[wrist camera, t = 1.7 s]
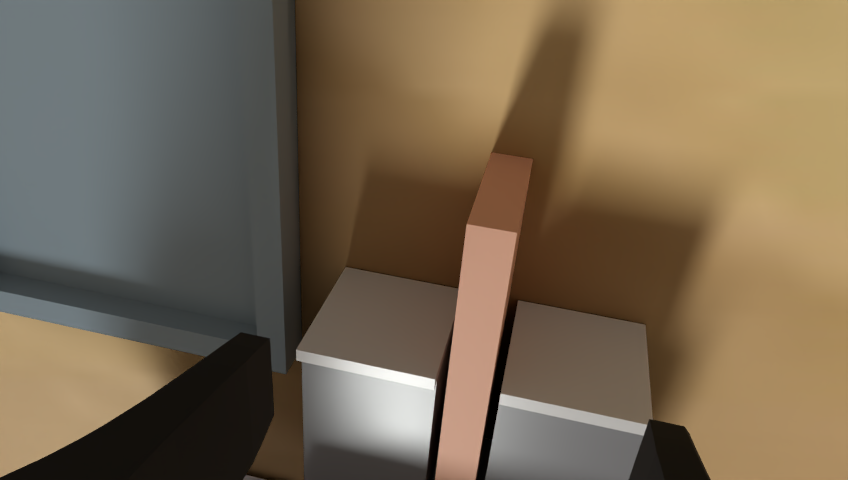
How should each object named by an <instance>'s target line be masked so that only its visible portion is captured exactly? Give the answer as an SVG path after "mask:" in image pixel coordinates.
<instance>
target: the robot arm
mask: <svg viewBox="0 0 848 480" xmlns="http://www.w3.org/2000/svg"><path fill="white" fill-rule="evenodd" d="M273 416H274V403H273V384H272V364H271V345H270V338H266V337H262V336H257V335H252V334H247V333H243V332H241V333H239V334H238V335H236V336H235V337H233V338H232V339H230V340H229V341H227V342H226V343H225V344H223V345H222V346H220V347H219V348H218V349H216V350H215V351H213V352H212V353H211V354H209V355H208V356H206V357H205V358H204V359H202V360H201V361H200V362H198V363H197V364H195V365H194V366H193V367H191V368H190V369H188V370H187V371H186V372H184V373H183V374H181V375H180V376H178V377H177V378H176V379H174V380H173V381H171V382H170V383H168V384H167V385H165V386H164V387H162V388H161V389H160V390H158V391H157V392H155V393H154V394H152V395H151V396H149V397H148V398H146V399H145V400H143V401H142V402H140V403H139V404H137V405H135V406H134V407H132V408H131V409H129V410H127V411H126V412H124V413H123V414H121V415H119V416H118V417H116V418H115V419H113V420H111V421H110V422H108V423H107V424H105V425H103V426H102V427H100V428H98V429H96V430H95V431H93V432H91V433H89V434H88V435H86V436H84V437H82V438H81V439H79V440H77V441H75V442H73V443H71V444H69V445H67V446H65V447H63V448H62V449H60V450H58V451H56V452H54V453H52V454H50V455H48V456H46V457H44V458H42V459H40V460H38V461H36V462H33V463H31V464H29V465H27V466H25V467H22V468H20V469H18V470H16V471H14V472H11V473H9V474H7V475H5V476H3V477H0V480H265V479H261V478H257V477H253V476H249V475H246V474H247V472H248V471H249V469H250V467H251V465H252V464H253V462H254V460H255V457H256V455H257V453H258V451H259V449H260V446H261V444H262V442H263V440H264V437H265V435H266V433H267V430H268V428H269V426H270V423H271V421H272V418H273ZM629 480H710V478H709V476H708V473H707V471H706V469H705V467H704V465H703V463H702V461H701V459H700V456H699V454H698V452H697V450H696V448H695V445H694V443H693V441H692V439H691V436H690V434H689V432H688V431H687V429H686V428H685V427H684V426H679V425H675V424H670V423H665V422H660V421H656V420H651V419H649V421H648V424H647V427H646V430H645V433H644V436H643V439H642V442H641V445H640V448H639V451H638V454H637V456H636V459H635V462H634V465H633V468H632V471H631V474H630V477H629Z"/></svg>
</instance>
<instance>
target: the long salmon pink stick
mask: <svg viewBox="0 0 848 480" xmlns="http://www.w3.org/2000/svg"><path fill="white" fill-rule="evenodd" d="M532 162H533V159H530V158H524V157H518V156H512V155H506V154H499V153H493V152H491V155H490V158H489V161H488V164H487V167H486V170H485V173H484V176H483V178H482V181H481V184H480V187H479V190H478V193H477V196H476V199H475V201H474V204H473V207H472V210H471V213H470V216H469V219H468V222H467V225H466V233H465V241H464V249H463V257H462V265H461V273H460V282H459V290H458V298H457V306H456V314H455V322H454V330H453V338H452V346H451V354H450V362H449V370H448V378H447V386H446V394H445V402H444V410H443V418H442V426H441V434H440V443H439V451H438V459H437V467H436V475H435V480H477V476H478V471H479V466H480V461H481V456H482V451H483V445H484V440H485V435H486V430H487V424H488V418H489V412H490V407H491V401H492V395H493V389H494V383H495V377H496V372H497V366H498V360H499V354H500V348H501V343H502V337H503V331H504V325H505V319H506V314H507V308H508V302H509V296H510V290H511V284H512V279H513V273H514V267H515V261H516V255H517V250H518V244H519V238H520V232H521V226H522V220H523V215H524V209H525V203H526V197H527V191H528V186H529V180H530V174H531V168H532Z"/></svg>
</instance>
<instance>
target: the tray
mask: <svg viewBox="0 0 848 480" xmlns="http://www.w3.org/2000/svg"><path fill="white" fill-rule="evenodd" d="M0 311H1V312H5V313H10V314H14V315H19V316H23V317H28V318H32V319H37V320H42V321H46V322H51V323H55V324H60V325H64V326H69V327H73V328H78V329H82V330H87V331H92V332H96V333H101V334H105V335H110V336H114V337H119V338H123V339H128V340H133V341H137V342H142V343H146V344H151V345H155V346H160V347H164V348H169V349H173V350H178V351H183V352H187V353H192V354H196V355H201V356H205V357H206V356H208V355H209V354H211V353H212V352H213V351H215V350H216V349H218V348H219V347H220V346H222V345H223V344H225V343H226V342H227V341H229V340H230V339H232V338H233V337H235V336H236V335H238V334H239V333H241V332H243V333H247V334H252V335H257V336H262V337H266V338H270V345H271V364H272V371H273V372H278V373H283V374H287V372H288V370H289V369H290V367H291V365H292V364H293V362H294V360H295V358H296V349H297V347H298V346H299V344H300V342H301V341H302V322H301V274H300V226H299V177H298V129H297V81H296V33H295V0H0Z"/></svg>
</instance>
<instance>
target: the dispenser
mask: <svg viewBox="0 0 848 480" xmlns="http://www.w3.org/2000/svg"><path fill="white" fill-rule="evenodd" d="M458 290H459V289H458V288H452V287H447V286H442V285H437V284H432V283H426V282H421V281H416V280H411V279H406V278H400V277H395V276H390V275H385V274H380V273H375V272H369V271H364V270H359V269H354V268H349V267H345V269H344V270H343V272H342V274H341V275H340V277H339V279H338V280H337V282H336V284H335V285H334V287H333V289H332V290H331V292H330V294H329V295H328V297H327V299H326V300H325V302H324V304H323V306H322V307H321V309H320V311H319V312H318V314H317V316H316V317H315V319H314V321H313V322H312V324H311V326H310V327H309V329H308V331H307V332H306V334H305V336H304V337H303V339H302V341H301V342H300V344H299V346H298V347H297V349H296V361H300V362H302V397H303V444H304V480H435V475H436V467H437V459H438V451H439V443H440V434H441V426H442V418H443V410H444V402H445V394H446V386H447V378H448V370H449V362H450V354H451V346H452V338H453V330H454V322H455V314H456V306H457V298H458ZM649 419H651V420H653V415H652V402H651V389H650V376H649V363H648V350H647V337H646V325H644V324H639V323H634V322H629V321H624V320H618V319H613V318H608V317H603V316H598V315H593V314H587V313H582V312H577V311H572V310H567V309H561V308H556V307H551V306H546V305H541V304H535V303H530V302H525V301H520V300H518V305H517V310H516V315H515V320H514V326H513V331H512V336H511V342H510V347H509V352H508V357H507V363H506V368H505V373H504V379H503V384H502V389H501V395H500V400H499V406H498V412H497V417H496V423H495V428H494V434H493V439H492V440H491V439H486V438H485V440H484V445H483V451H482V456H481V461H480V466H479V471H478V476H477V480H629V477H630V474H631V471H632V468H633V465H634V462H635V459H636V456H637V454H638V451H639V448H640V445H641V442H642V439H643V436H644V433H645V430H646V427H647V424H648V421H649Z"/></svg>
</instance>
